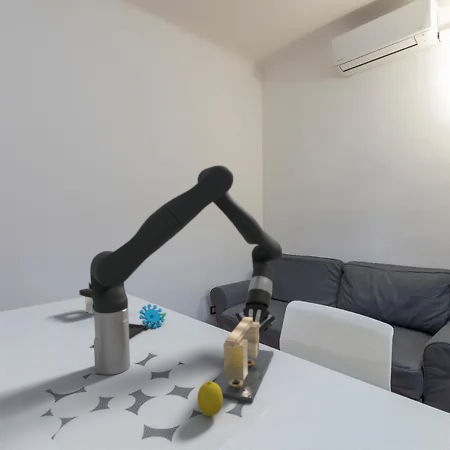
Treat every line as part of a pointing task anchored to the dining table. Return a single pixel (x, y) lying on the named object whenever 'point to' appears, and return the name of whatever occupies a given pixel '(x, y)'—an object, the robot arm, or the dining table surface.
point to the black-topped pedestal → (88, 298)
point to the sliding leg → (245, 336)
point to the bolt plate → (248, 380)
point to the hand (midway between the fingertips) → (250, 345)
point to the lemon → (210, 398)
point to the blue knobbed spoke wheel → (152, 316)
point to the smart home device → (135, 329)
